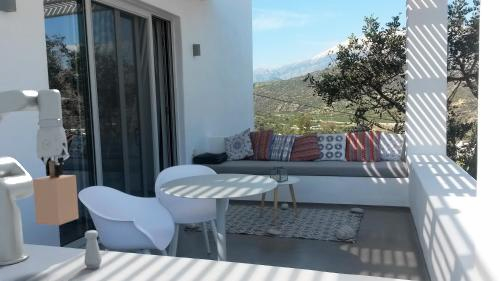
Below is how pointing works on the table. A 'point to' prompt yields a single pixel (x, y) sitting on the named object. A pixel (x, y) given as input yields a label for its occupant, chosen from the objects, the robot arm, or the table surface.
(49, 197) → the cover
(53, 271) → the table surface
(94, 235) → the salt shaker
